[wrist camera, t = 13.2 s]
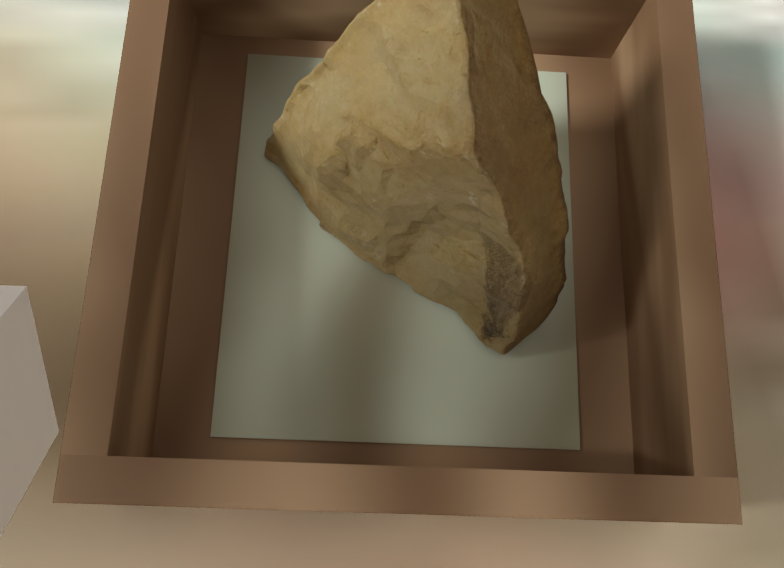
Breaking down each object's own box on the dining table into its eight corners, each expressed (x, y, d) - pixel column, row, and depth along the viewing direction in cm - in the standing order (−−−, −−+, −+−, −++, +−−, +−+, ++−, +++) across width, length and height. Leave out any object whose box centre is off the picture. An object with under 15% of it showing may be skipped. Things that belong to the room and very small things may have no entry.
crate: (115, 498, 23) (52, 502, 18) (178, 17, 28) (142, -80, 23) (662, 516, 24) (742, 524, 19) (631, 45, 29) (688, -43, 24)
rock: (664, 315, 22) (577, 20, 23) (589, 342, 15) (467, -90, 16) (381, 382, 28) (322, 141, 29) (224, 427, 20) (151, 100, 21)
